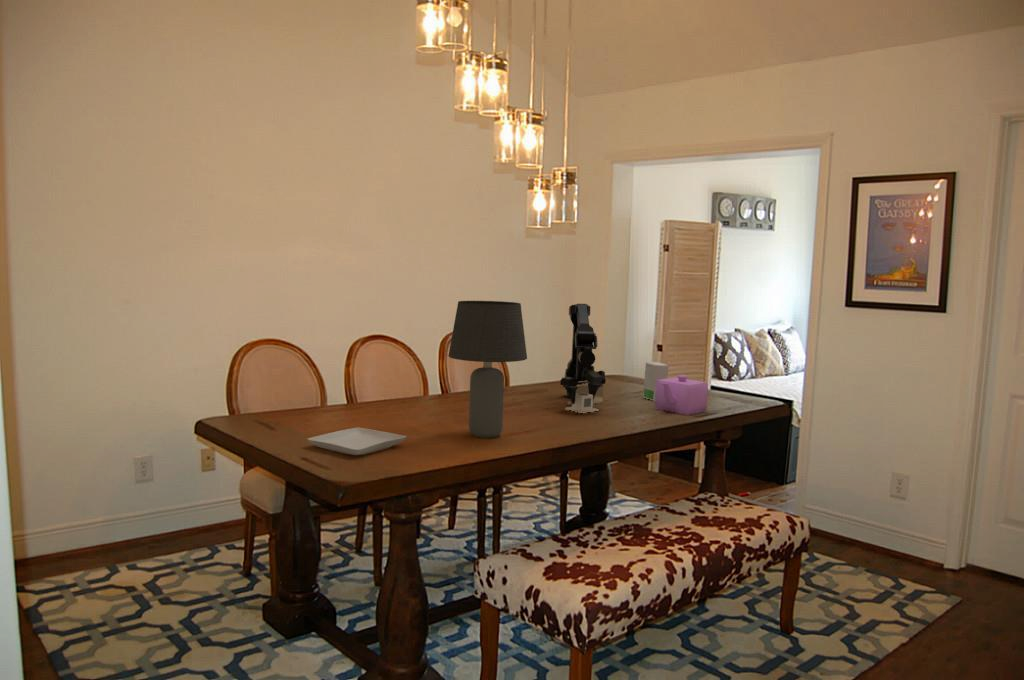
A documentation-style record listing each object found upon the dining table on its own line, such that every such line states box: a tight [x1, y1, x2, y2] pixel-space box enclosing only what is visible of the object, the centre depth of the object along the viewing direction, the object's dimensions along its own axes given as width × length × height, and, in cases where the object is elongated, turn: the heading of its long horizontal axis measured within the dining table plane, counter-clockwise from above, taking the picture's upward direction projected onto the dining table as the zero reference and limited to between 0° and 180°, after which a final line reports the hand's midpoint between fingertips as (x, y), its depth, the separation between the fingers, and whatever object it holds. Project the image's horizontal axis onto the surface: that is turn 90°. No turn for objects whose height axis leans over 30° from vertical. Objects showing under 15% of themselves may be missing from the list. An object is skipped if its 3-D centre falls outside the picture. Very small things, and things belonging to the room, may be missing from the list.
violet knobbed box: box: [654, 374, 709, 416], centre depth 299 cm, size 15×25×14 cm, turn 133°
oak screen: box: [567, 383, 604, 406], centre depth 306 cm, size 5×16×8 cm, turn 127°
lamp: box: [448, 300, 528, 439], centre depth 243 cm, size 25×25×43 cm
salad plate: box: [306, 427, 407, 456], centre depth 225 cm, size 21×21×3 cm
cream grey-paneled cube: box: [571, 393, 594, 410], centre depth 292 cm, size 6×6×6 cm
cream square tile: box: [565, 406, 600, 414], centre depth 293 cm, size 9×9×1 cm
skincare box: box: [642, 361, 669, 402], centre depth 322 cm, size 8×7×16 cm
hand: (582, 402), depth 292 cm, fingers open, 9 cm apart
